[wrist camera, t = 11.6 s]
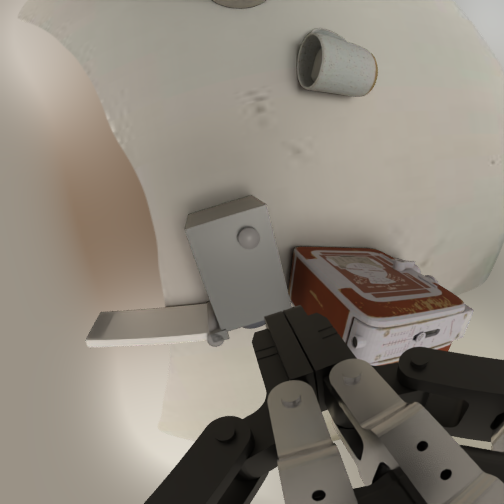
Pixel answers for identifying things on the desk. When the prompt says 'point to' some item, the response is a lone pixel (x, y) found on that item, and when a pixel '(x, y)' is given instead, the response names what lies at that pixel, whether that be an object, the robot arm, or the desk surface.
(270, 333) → the robot arm
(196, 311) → the side door
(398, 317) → the cine camera
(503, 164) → the desk surface
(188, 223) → the block
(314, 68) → the ceramic mug
